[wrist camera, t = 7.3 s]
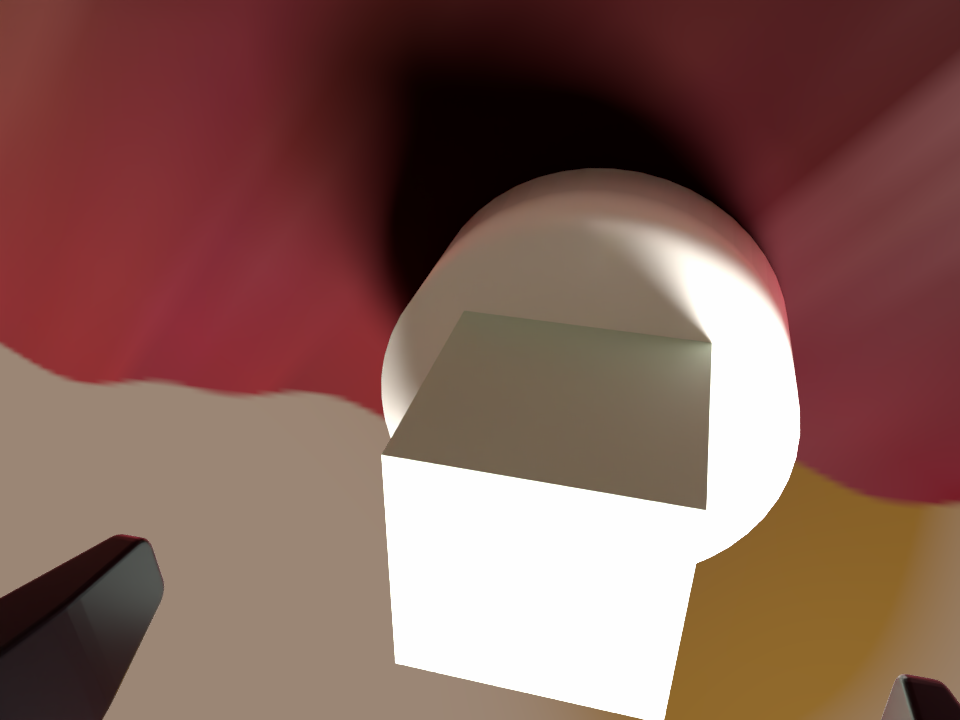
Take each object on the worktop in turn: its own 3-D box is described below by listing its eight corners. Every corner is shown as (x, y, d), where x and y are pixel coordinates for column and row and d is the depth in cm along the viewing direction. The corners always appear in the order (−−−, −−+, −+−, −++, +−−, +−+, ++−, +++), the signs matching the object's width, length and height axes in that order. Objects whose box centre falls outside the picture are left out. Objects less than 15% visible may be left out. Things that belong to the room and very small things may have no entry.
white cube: (712, 341, 16) (706, 510, 12) (677, 531, 19) (662, 723, 15) (464, 309, 17) (381, 455, 13) (464, 493, 20) (395, 662, 16)
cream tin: (823, 180, 18) (846, 255, 15) (753, 497, 23) (758, 608, 19) (426, 151, 20) (366, 211, 16) (438, 449, 25) (393, 542, 21)
